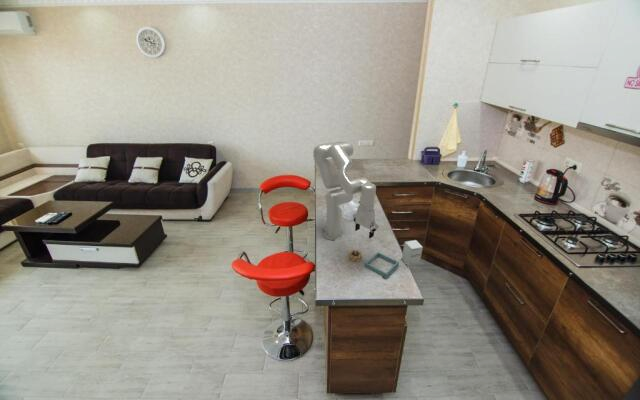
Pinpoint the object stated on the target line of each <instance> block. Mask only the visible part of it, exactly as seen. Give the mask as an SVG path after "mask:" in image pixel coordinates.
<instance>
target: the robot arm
mask: <svg viewBox="0 0 640 400" xmlns="http://www.w3.org/2000/svg"><path fill="white" fill-rule="evenodd" d="M312 154H313V160H314V161H315V163H316V165H317V167H318V170H319V172H320V173H319V174H320V176H321V179H322V183H323V186H324V188H325V189H330V191H328V192H327V193H326V194H325V198H324V199H325V204H326V224H325V223H324V224H323V226H322V229H323V230H324V232H323V236H324V238H326V239H327V240H329V241H336V240H338V239H341V238H342V237H344V233H343V230H342V223H343V222H342V220H343V219H342V217H343V210H342V208H341V207H340V206H342V205H344V204H349V203H351V202H352V201H353V199H354V195H355V194H359V193H360V194H359V195H360V197H359V198H360V199H359V201H358V204H359V205H358V207H357V209H356V213H354V214H352V218H353V222H354V224H355V225H354V226H355V229H354V230H355V231H359V230H360V228H361V226H362V227H363V228H365V229H368V230H369V233H368V238H369V239H372V238H373V237H374V236H375V232H376V231H378V230H379V228H380V225H378V224H377V223H376V211H375V203H376V202H375V200H376V192H377V185H376V184H374V183H372V182H371V181H370V180H369V179H368V178H366V177H364V176H363V177H362V176H361V177H358V178H353V179H349V176H348V174H347V173H348V171H349V170H350V169H351V168H352V166H353V165H354V162H353V160H352V159H351V156H352V155H353V154H354V147H353V145H352V144H351V142H349V141H335V142H328V143H322V144H318V145H316V146H314V148H313V153H312ZM327 158H329V159H330V158H331V160H332V161H333V163H334V164H335V165H336V167H337V168H338V171H335V169H334V165H333V163H332V162H331V161H330V160H328V159H327ZM334 188H335V189H334ZM336 188H337V189H336ZM331 189H334V190H331Z"/></svg>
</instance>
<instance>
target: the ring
mask: <svg viewBox="0 0 640 400" xmlns="http://www.w3.org/2000/svg"><path fill="white" fill-rule="evenodd" d="M355 251H356V252H357V256H354V252H355ZM348 259H349V260H350V261H351V262H354V263H357V262H360V261H362V260H363V253H362V251H361V250H358V249H351V250H350V251H349V252H348Z"/></svg>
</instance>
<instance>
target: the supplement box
mask: <svg viewBox="0 0 640 400" xmlns="http://www.w3.org/2000/svg"><path fill="white" fill-rule="evenodd" d="M403 244H404V245H403V249H402V255H401V260H402V261H403V263H404V262H405V263H404V264H405V265H406V263H407V265H408V266H407V265H406V266H407V267H408V268H409V267H414V266H420V264H421V263H420V262H421V258H422V253H423V248H424V246H422V244H420V242H419V241H418V240H416V239H414V240H407V241H404V242H403ZM405 260H406V261H405Z"/></svg>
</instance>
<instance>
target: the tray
mask: <svg viewBox="0 0 640 400" xmlns="http://www.w3.org/2000/svg"><path fill="white" fill-rule="evenodd" d="M378 257H379V258H380V259H383V260H385V261H387V262H389V263H390V264H392V266H391V268H389V269H388V270H387V271H386V272H385V271H383V270H381V269H380V268H377V267H375V266H374V265H372V264H371V263H373V262H374V261H375V260H376V259H377V258H378ZM399 266H400V262H399V260H395V259H394V258H391V257H389V256H387V255H386V254H382V253H381V252H379V251H378V252H376V253H375V254H374V255H373V256H371V258H369V259H368V260H366V261H365V262H364V267H365V268H366V269H369V270H370V271H372V272H374V273H376V274H378V275H380V276H382V278H383V279H385V280H387V279H388V278H389V277H390V276H391V275H392V274H393V273H394V272H395V271H396V270H397V269H398V268H397V267H399ZM396 268H397V269H396Z"/></svg>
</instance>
